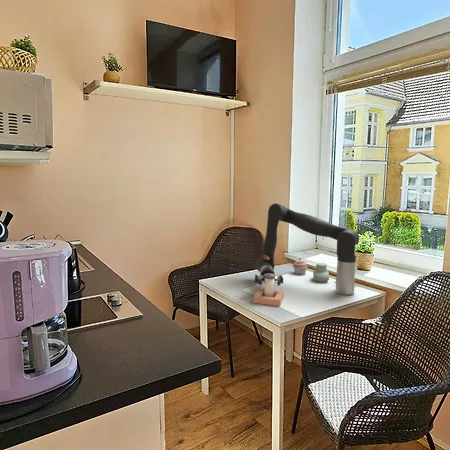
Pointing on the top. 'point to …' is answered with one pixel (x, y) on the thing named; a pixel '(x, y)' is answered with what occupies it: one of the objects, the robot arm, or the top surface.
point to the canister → (269, 284)
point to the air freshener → (321, 273)
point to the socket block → (269, 298)
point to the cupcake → (300, 267)
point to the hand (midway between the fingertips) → (269, 283)
